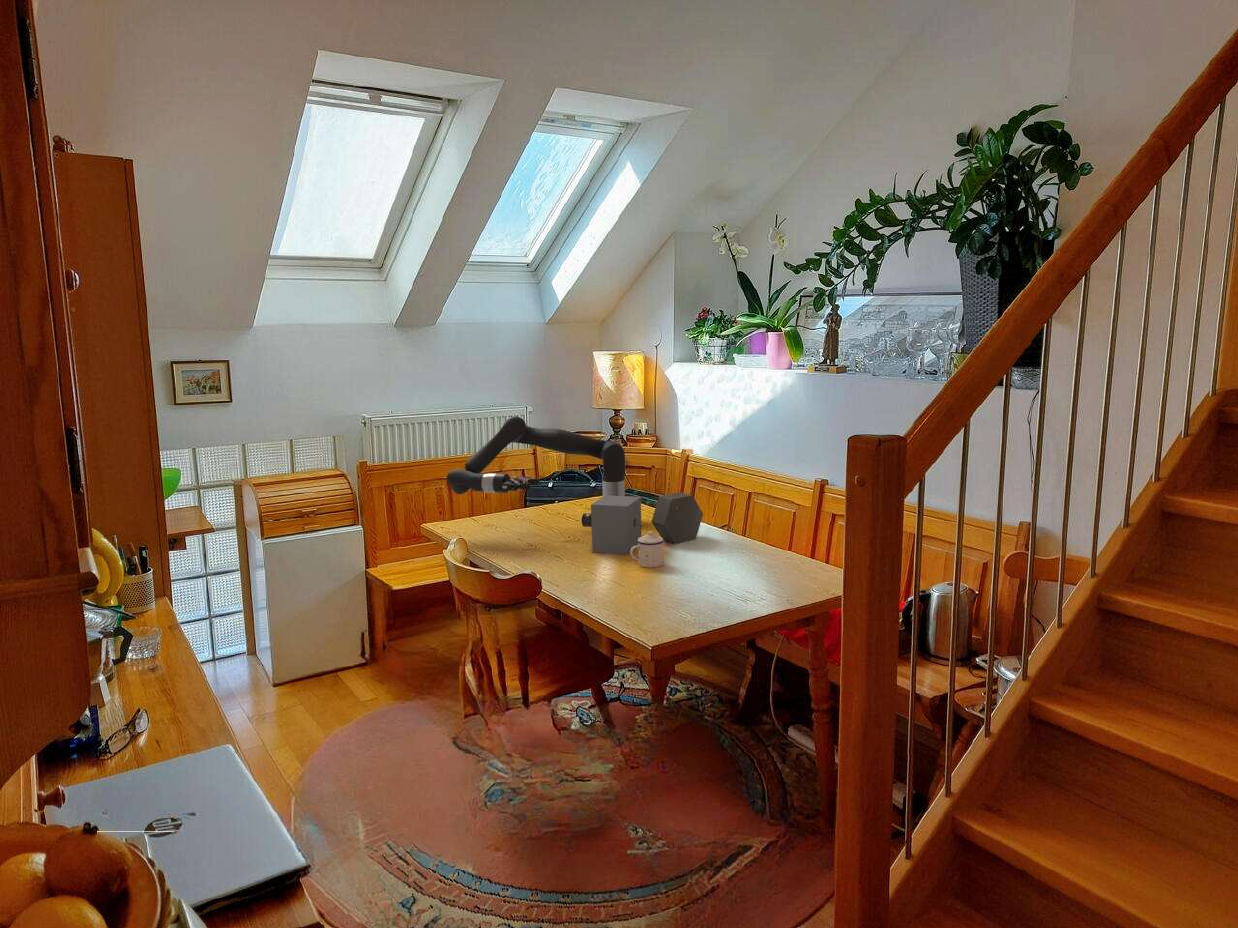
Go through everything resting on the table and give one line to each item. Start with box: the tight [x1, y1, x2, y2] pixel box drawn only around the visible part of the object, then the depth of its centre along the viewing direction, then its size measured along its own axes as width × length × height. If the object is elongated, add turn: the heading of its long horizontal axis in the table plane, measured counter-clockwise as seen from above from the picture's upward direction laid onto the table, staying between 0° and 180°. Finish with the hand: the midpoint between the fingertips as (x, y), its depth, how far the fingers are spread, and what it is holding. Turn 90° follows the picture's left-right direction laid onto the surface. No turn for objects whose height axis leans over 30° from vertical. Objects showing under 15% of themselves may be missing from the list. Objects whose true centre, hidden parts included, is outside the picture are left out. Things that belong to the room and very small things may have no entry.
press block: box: [590, 495, 643, 556], centre depth 319 cm, size 16×14×18 cm
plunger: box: [581, 512, 592, 528], centre depth 320 cm, size 5×19×5 cm, turn 71°
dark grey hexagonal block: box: [650, 492, 704, 545], centre depth 328 cm, size 17×8×21 cm
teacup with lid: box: [629, 530, 665, 569], centre depth 297 cm, size 12×9×12 cm
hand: (534, 484), depth 327 cm, fingers open, 8 cm apart
